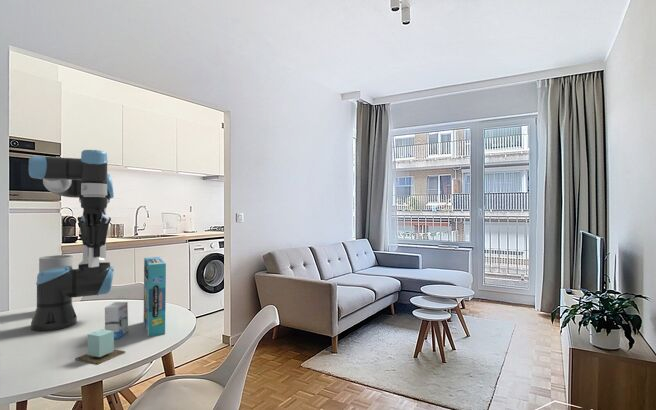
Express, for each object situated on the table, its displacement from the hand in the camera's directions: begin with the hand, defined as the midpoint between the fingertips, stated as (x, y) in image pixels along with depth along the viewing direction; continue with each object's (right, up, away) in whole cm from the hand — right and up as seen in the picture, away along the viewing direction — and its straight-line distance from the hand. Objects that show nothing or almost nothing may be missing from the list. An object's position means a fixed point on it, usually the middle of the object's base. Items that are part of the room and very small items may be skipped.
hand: (93, 266), depth 127 cm
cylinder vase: (-47, -28, +47) cm, 72 cm away
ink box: (-1, -29, +15) cm, 32 cm away
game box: (+9, -29, +24) cm, 39 cm away
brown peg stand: (+5, -28, -4) cm, 29 cm away
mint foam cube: (+5, -27, -4) cm, 28 cm away
